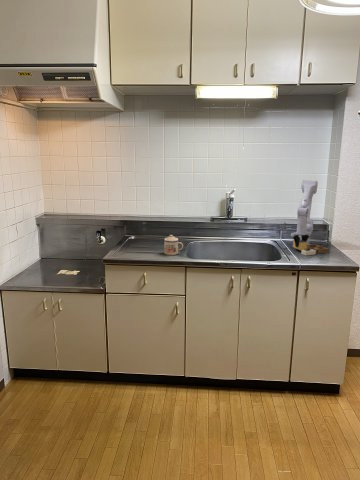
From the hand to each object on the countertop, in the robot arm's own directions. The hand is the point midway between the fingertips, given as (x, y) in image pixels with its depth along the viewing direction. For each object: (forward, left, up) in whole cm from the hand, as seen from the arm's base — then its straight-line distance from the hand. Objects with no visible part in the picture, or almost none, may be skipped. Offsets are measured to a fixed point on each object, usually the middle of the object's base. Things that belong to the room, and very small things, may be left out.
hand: (299, 246), depth 238 cm
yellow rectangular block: (0, 0, -1) cm, 1 cm away
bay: (+8, 0, -3) cm, 9 cm away
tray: (+3, +11, -3) cm, 12 cm away
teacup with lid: (-20, -80, -3) cm, 83 cm away
